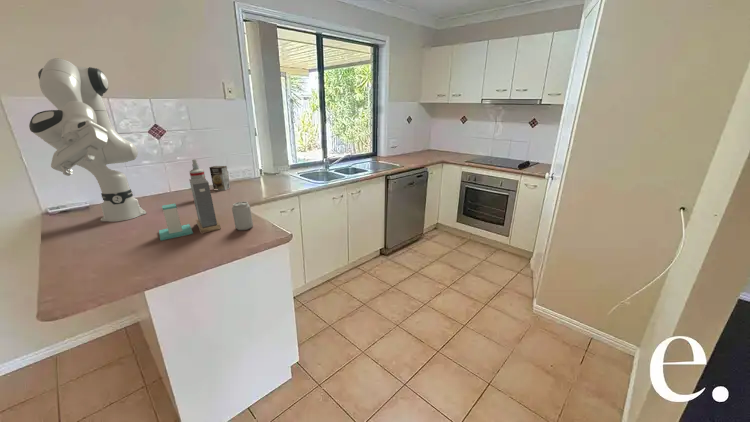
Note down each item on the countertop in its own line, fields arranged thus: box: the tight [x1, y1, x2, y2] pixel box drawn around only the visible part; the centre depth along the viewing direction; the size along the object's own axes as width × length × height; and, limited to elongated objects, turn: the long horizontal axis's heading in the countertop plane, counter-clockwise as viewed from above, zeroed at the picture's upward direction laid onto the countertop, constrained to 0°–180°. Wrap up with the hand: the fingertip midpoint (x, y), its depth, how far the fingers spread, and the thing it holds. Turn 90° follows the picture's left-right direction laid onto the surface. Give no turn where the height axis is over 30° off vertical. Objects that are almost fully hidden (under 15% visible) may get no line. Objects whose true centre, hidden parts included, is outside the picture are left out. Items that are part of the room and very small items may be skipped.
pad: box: [158, 223, 194, 241], centre depth 135 cm, size 12×12×1 cm
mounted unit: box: [189, 177, 222, 234], centre depth 138 cm, size 15×8×22 cm, turn 36°
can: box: [231, 201, 254, 231], centre depth 137 cm, size 8×8×12 cm
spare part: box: [161, 203, 182, 234], centre depth 133 cm, size 5×5×12 cm
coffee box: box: [209, 165, 231, 191], centre depth 208 cm, size 9×6×16 cm
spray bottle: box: [188, 158, 206, 179], centre depth 182 cm, size 8×8×25 cm
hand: (78, 167), depth 99 cm, fingers open, 8 cm apart
